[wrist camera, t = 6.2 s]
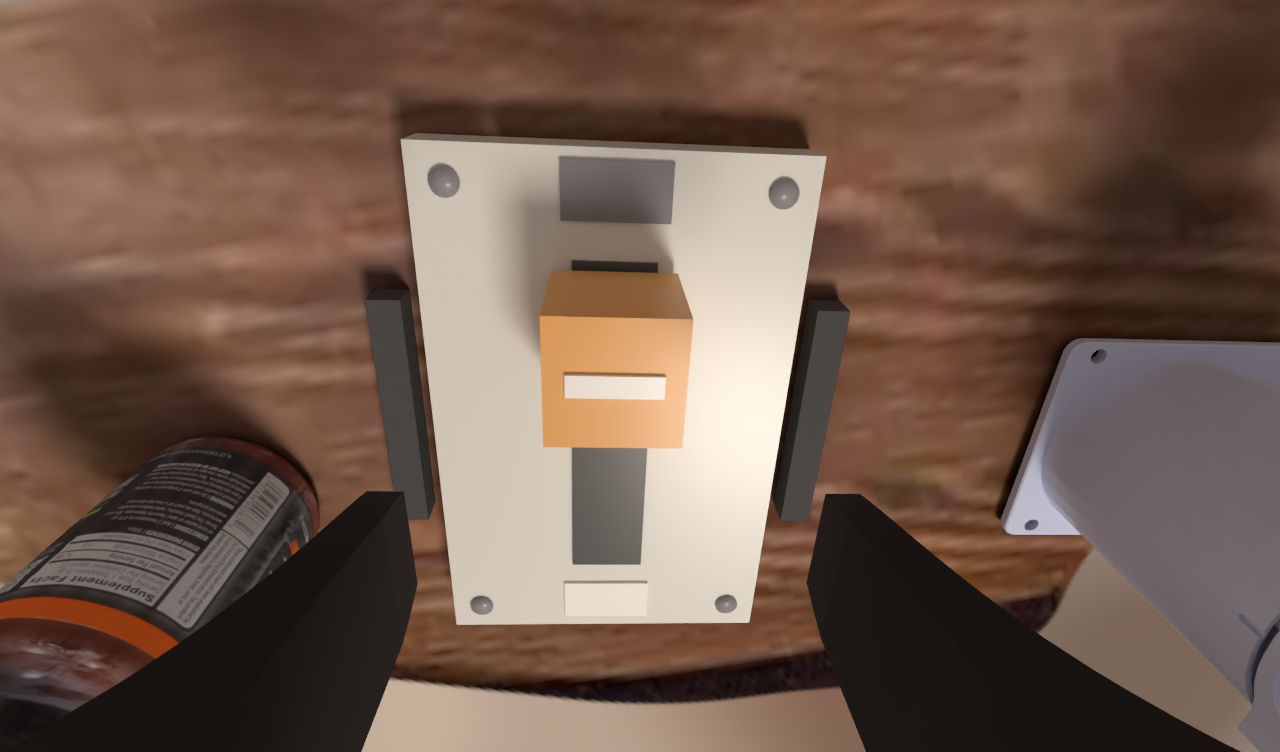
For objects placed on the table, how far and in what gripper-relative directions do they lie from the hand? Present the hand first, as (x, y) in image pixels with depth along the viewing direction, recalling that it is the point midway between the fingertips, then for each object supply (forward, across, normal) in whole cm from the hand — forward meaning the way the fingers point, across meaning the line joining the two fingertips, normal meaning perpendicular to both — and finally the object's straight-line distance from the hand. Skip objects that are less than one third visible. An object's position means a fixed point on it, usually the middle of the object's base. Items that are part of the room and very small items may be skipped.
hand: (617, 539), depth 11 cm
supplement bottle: (+10, +13, +7) cm, 18 cm away
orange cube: (+8, 0, 0) cm, 8 cm away
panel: (+10, 0, +3) cm, 11 cm away
